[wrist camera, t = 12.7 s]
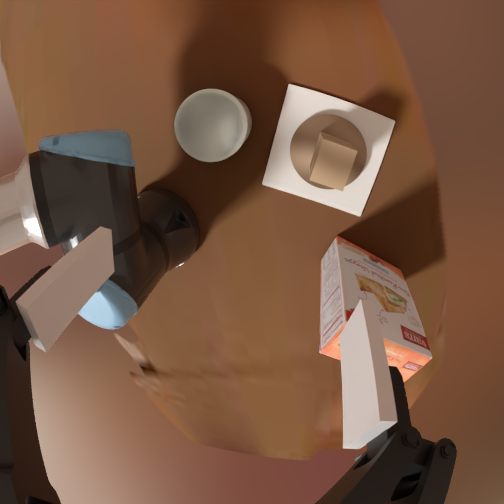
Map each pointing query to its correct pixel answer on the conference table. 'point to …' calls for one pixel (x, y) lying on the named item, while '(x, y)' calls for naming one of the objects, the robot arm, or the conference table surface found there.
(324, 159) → the lid
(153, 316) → the conference table surface
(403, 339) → the cracker box
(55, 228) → the robot arm
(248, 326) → the conference table surface
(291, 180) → the mat
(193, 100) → the bowl
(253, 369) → the conference table surface
